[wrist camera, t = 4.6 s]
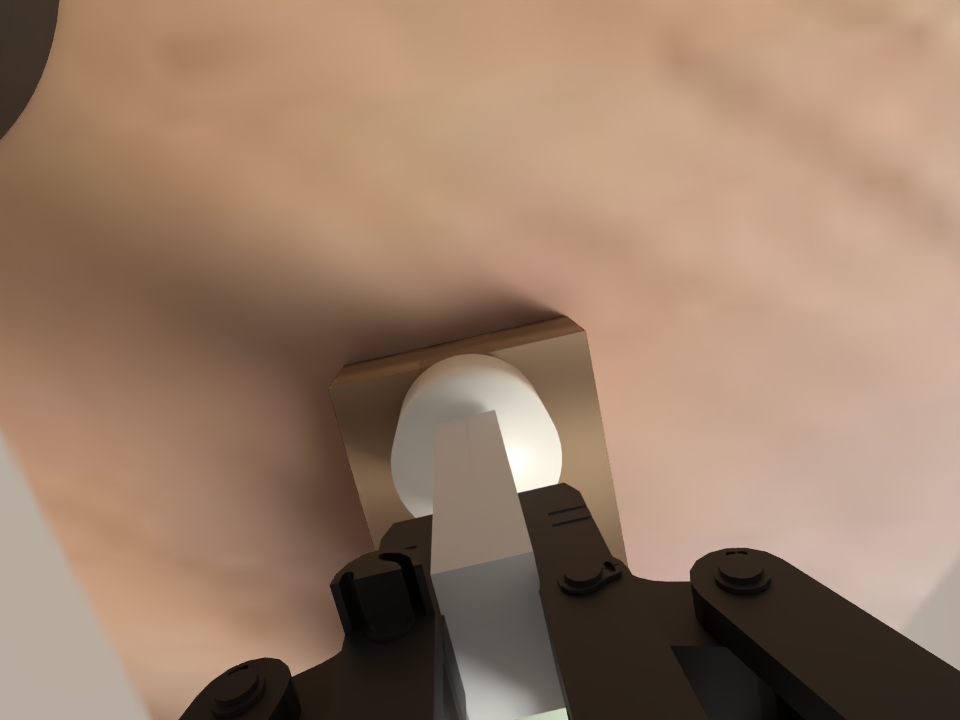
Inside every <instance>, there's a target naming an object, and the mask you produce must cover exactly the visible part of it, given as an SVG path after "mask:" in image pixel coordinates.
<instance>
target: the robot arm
mask: <svg viewBox="0 0 960 720" xmlns="http://www.w3.org/2000/svg"><path fill="white" fill-rule="evenodd" d="M58 6H59V0H0V139H1V138H2V137H3V136H4V135H5V134H6V132H7V131H8V130H9V129H10V128H11V127H12V125H13V124H14V123H15V121H16V120H17V119H18V117H19V116H20V114H21V113H22V111H23V110H24V109H25V107H26V105H27V103H28V102H29V100H30V98H31V96H32V95H33V93H34V91H35V89H36V87H37V84H38V82H39V80H40V78H41V76H42V73H43V70H44V68H45V65H46V62H47V60H48V56H49V53H50V49H51V45H52V42H53V37H54V32H55V27H56V22H57V14H58ZM330 588H331V591H332V594H333V597H334V601H335V604H336V607H337V610H338V613H339V616H340V620H341V623H342V626H343V629H344V632H345V638H344V642H343V647H342V651H341V652H339V653H338V654H337V655H335V656H334V657H332V658H330V659H328V660H327V661H325V662H323V663H321V664H319V665H317V666H315V667H313V668H310V669H308V670H306V671H304V672H302V673H300V674H297V675H295V676H293V677H292V676H291V673H290V670H289V667H288V666H287V665H286V664H285V663H284V662H282V661H281V660H280V659H274V658H266V657H265V658H260V659H255V660H250V661H247V662H244V663H241V664H239V665H238V666H237V665H236V666H234V667H232V668H230V669H228V670H227V671H226V672H224V673H223V674H221V675H220V676H219V677H217V678H216V679H214V680H213V681H211V682H210V683H209V684H208V685H207V686H206V687H205V688H204V689H203V690H202V691H201V692H200V694H199V695H198V696H197V697H196V698H195V699H194V700H193V702H192V703H191V704H190V706H189V707H188V708H187V710H186V711H185V712H184V713H183V715H182V716H181V717H180V719H179V720H467V716H466V709H467V713H468V717H469V720H514V719H519V718H523V717H527V716H532V715H536V714H540V713H545V712H549V711H553V710H558V709H562V708H566V712H567V716H568V720H960V671H959V670H957V669H955V668H954V667H953V666H951V665H949V664H948V663H946V662H945V661H943V660H941V659H940V658H938V657H937V656H935V655H934V654H932V653H930V652H929V651H927V650H926V649H924V648H922V647H921V646H919V645H918V644H916V643H914V642H913V641H911V640H910V639H908V638H907V637H905V636H903V635H902V634H900V633H899V632H897V631H895V630H894V629H892V628H891V627H889V626H888V625H886V624H884V623H883V622H881V621H880V620H878V619H876V618H875V617H873V616H872V615H870V614H869V613H867V612H865V611H864V610H862V609H861V608H859V607H857V606H856V605H854V604H853V603H851V602H850V601H848V600H846V599H845V598H843V597H842V596H840V595H838V594H837V593H835V592H834V591H832V590H831V589H829V588H827V587H826V586H824V585H823V584H821V583H819V582H818V581H816V580H815V579H813V578H811V577H810V576H808V575H807V574H805V573H804V572H802V571H800V570H799V569H797V568H796V567H794V566H792V565H791V564H789V563H788V562H786V561H785V560H783V559H781V558H779V557H776V556H774V555H772V554H770V553H768V552H765V551H760V550H754V549H749V548H726V549H722V550H718V551H715V552H711V553H708V554H707V555H705V556H703V557H702V558H700V559H698V560H697V561H696V562H695V564H694V565H693V567H692V568H691V570H690V582H664V581H651V580H647V579H642V578H639V577H636V576H634V575H632V574H631V572H630V570H629V568H628V567H627V566H626V565H625V564H624V563H623V562H622V561H621V560H619V559H617V558H615V557H613V556H612V554H611V552H610V550H609V549H608V547H607V545H606V543H605V541H604V539H603V537H602V535H601V533H600V531H599V529H598V527H597V525H596V523H595V521H594V519H593V518H592V515H591V513H590V511H589V509H588V507H587V505H586V503H585V501H584V499H583V497H582V495H581V493H580V491H578V490H577V489H575V488H573V487H571V486H570V485H568V484H566V483H564V482H563V483H559V484H555V485H550V486H546V487H541V488H537V489H533V490H528V491H524V492H519V493H517V490H516V486H515V482H514V479H513V475H512V471H511V468H510V464H509V460H508V456H507V453H506V449H505V445H504V442H503V438H502V434H501V431H500V427H499V423H498V419H497V416H496V412H495V410H492V411H488V412H483V413H479V414H474V415H470V416H465V417H461V418H457V419H452V420H448V421H443V422H439V423H436V441H435V468H434V494H433V514H431V515H427V516H423V517H418V518H414V519H410V520H405V521H401V522H396V523H393V525H392V526H391V527H390V528H389V530H388V531H387V532H386V533H385V535H384V536H383V537H382V538H381V542H380V547H379V550H377V551H374V552H371V553H368V554H365V555H363V556H361V557H359V558H357V559H355V560H354V561H352V562H350V563H348V564H347V565H346V566H345V567H344V568H343V569H341V570H340V571H339V572H338V573H337V574H336V575H335V577H334V579H333V580H332V582H331V584H330Z"/></svg>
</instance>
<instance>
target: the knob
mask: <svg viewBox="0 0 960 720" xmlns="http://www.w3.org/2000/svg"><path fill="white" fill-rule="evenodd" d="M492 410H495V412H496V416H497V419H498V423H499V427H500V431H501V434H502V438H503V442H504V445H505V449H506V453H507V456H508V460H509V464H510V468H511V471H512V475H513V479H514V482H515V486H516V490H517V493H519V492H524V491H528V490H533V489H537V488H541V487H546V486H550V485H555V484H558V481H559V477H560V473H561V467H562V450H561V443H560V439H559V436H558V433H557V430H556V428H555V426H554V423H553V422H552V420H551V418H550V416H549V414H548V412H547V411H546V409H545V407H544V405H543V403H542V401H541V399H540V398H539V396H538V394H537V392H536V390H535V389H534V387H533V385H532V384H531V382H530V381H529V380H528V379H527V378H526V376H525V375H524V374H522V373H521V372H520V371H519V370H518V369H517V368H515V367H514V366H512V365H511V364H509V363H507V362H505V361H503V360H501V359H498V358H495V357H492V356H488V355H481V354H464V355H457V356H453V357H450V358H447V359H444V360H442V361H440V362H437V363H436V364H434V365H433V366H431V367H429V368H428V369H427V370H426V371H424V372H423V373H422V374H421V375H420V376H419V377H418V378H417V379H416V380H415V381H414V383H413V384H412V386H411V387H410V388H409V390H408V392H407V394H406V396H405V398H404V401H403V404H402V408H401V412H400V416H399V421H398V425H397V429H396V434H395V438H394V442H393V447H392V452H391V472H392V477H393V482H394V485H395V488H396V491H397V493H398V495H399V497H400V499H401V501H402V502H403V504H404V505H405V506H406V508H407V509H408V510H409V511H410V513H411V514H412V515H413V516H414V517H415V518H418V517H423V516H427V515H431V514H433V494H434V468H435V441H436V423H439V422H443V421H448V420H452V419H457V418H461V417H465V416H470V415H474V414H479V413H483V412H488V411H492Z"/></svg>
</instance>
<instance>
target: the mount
mask: <svg viewBox="0 0 960 720" xmlns="http://www.w3.org/2000/svg"><path fill="white" fill-rule="evenodd" d="M464 354H481V355H488V356H492V357H495V358H498V359H501V360H503V361H505V362H507V363H509V364H511V365H512V366H514V367H515V368H517V369H518V370H519V371H520V372H521V373H522V374H524V375H525V376H526V378H527V379H528V380H529V381H530V382H531V384H532V385H533V387H534V389H535V390H536V392H537V394H538V396H539V398H540V399H541V401H542V403H543V405H544V407H545V409H546V411H547V412H548V414H549V416H550V418H551V420H552V422H553V423H554V426H555V428H556V430H557V433H558V436H559V439H560V443H561V450H562V467H561V473H560V477H559V481H558V484H559V483H563V482H564V483H566V484H568V485H570V486H571V487H573V488H575V489H577V490H578V491H580V493H581V495H582V497H583V499H584V501H585V503H586V505H587V507H588V509H589V511H590V513H591V515H592V518H593V519H594V521H595V523H596V525H597V527H598V529H599V531H600V533H601V535H602V537H603V539H604V541H605V543H606V545H607V547H608V549H609V550H610V552H611V554H612V556H613V557H615V558H617V559H619V560H621V561H622V562H623V563H624V564H625V565H626V566H627V567H628V564H627V558H626V552H625V547H624V541H623V536H622V530H621V524H620V519H619V513H618V508H617V502H616V496H615V491H614V485H613V480H612V474H611V469H610V463H609V457H608V452H607V446H606V441H605V435H604V429H603V424H602V418H601V413H600V407H599V401H598V396H597V390H596V385H595V379H594V373H593V368H592V362H591V357H590V351H589V346H588V340H587V334H586V330H584V329H583V328H582V327H580V326H579V325H578V324H576V323H575V322H574V321H573V320H571V319H570V318H569V317H567V316H562V317H558V318H553V319H549V320H545V321H540V322H536V323H531V324H527V325H522V326H518V327H514V328H509V329H505V330H500V331H496V332H491V333H487V334H483V335H478V336H474V337H469V338H465V339H460V340H456V341H452V342H447V343H443V344H438V345H434V346H429V347H425V348H421V349H416V350H412V351H407V352H403V353H398V354H394V355H390V356H385V357H381V358H376V359H372V360H367V361H363V362H359V363H354V364H350V365H345V366H344V367H343V368H342V370H341V371H340V372H339V374H338V375H337V377H336V378H335V380H334V381H333V382H332V384H331V385H330V387H329V388H328V391H329V394H330V398H331V401H332V405H333V408H334V411H335V415H336V418H337V422H338V425H339V429H340V432H341V436H342V439H343V443H344V446H345V449H346V453H347V456H348V460H349V463H350V467H351V470H352V474H353V477H354V480H355V484H356V487H357V491H358V494H359V498H360V501H361V505H362V508H363V512H364V515H365V518H366V522H367V525H368V529H369V532H370V536H371V539H372V543H373V546H374V550H375V551H377V550H379V547H380V542H381V538H382V537H383V536H384V535H385V533H386V532H387V531H388V530H389V528H390V527H391V526H392V525H393V523H396V522H401V521H405V520H410V519H414V518H415V517H414V516H413V515H412V514H411V513H410V511H409V510H408V509H407V508H406V506H405V505H404V504H403V502H402V501H401V499H400V497H399V495H398V493H397V491H396V488H395V485H394V482H393V477H392V472H391V452H392V447H393V442H394V438H395V434H396V429H397V425H398V421H399V416H400V412H401V408H402V404H403V401H404V398H405V396H406V394H407V392H408V390H409V388H410V387H411V386H412V384H413V383H414V381H415V380H416V379H417V378H418V377H419V376H420V375H421V374H422V373H423V372H424V371H426V370H427V369H428V368H429V367H431V366H433V365H434V364H436V363H437V362H440V361H442V360H444V359H447V358H450V357H453V356H457V355H464Z"/></svg>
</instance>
